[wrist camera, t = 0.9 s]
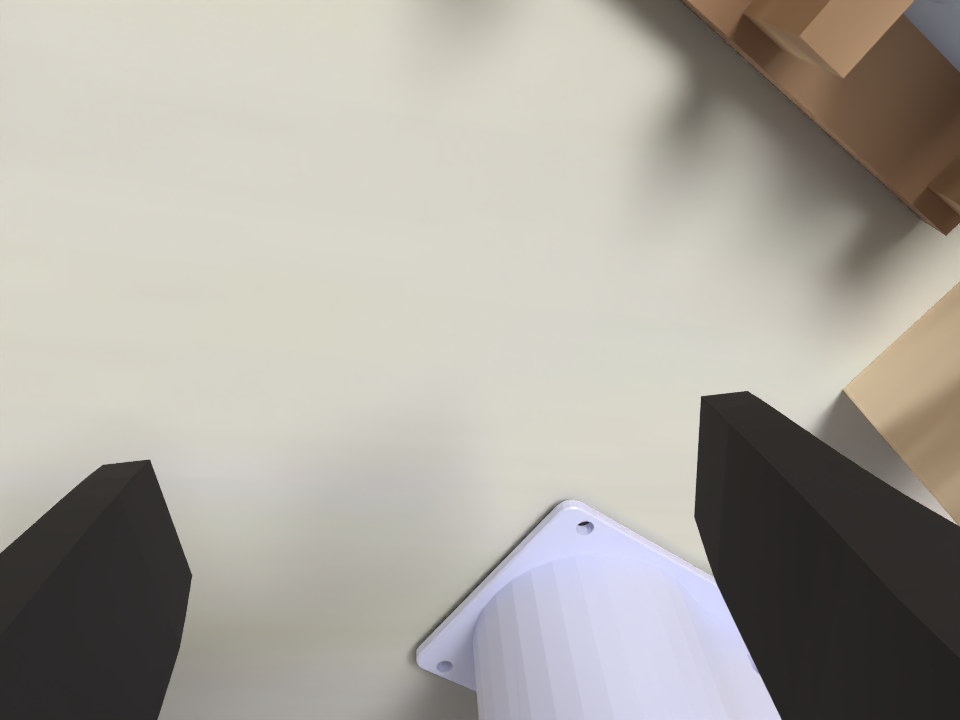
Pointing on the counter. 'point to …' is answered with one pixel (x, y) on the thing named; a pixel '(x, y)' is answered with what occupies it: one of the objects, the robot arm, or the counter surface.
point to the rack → (860, 87)
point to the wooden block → (920, 399)
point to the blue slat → (939, 25)
